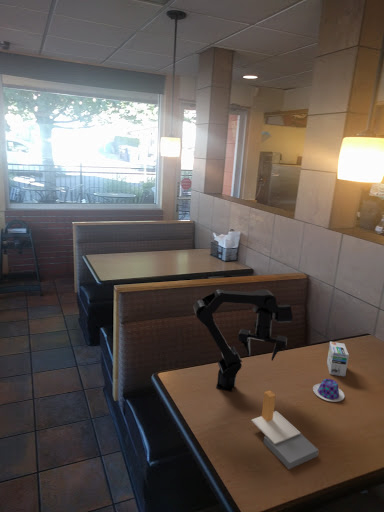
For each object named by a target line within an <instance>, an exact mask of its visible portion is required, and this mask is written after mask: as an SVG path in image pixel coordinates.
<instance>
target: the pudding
mask: <svg viewBox="0 0 384 512" xmlns="http://www.w3.org/2000/svg"><path fill="white" fill-rule="evenodd" d="M312 390H313V393H314V394H315V395H316V396H317V397H318V398H320V399H322V400H325V401H327V402H336V403H337V402H341V401H343V400H344V399H345V392H343V391H342V389H340V388H339V384H338V382H337V381H336V380H334V379H331V378H324V379H323V380H322V381H321V383H317V384H314V385H313V387H312Z"/></svg>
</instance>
